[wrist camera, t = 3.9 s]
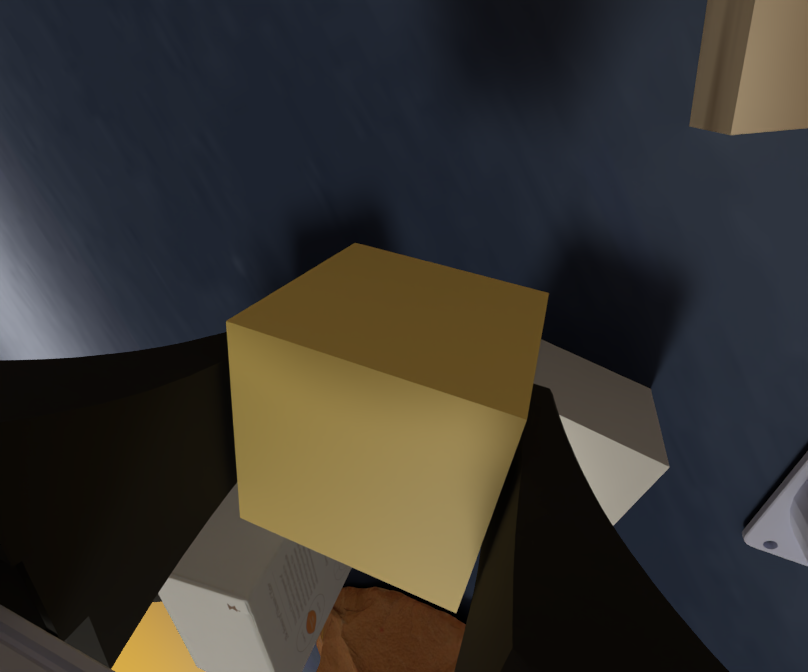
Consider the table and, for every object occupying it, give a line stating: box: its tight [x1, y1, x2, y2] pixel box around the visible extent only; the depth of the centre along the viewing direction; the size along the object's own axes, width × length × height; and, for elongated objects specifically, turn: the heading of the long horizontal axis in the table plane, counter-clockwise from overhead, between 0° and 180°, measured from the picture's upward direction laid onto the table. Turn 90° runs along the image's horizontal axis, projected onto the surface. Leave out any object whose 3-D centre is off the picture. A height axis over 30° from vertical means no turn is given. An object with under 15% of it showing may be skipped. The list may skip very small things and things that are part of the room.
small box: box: [158, 483, 352, 672], centre depth 25 cm, size 8×6×10 cm
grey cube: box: [533, 339, 669, 525], centre depth 19 cm, size 5×5×5 cm
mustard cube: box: [226, 243, 549, 613], centre depth 10 cm, size 5×5×5 cm
